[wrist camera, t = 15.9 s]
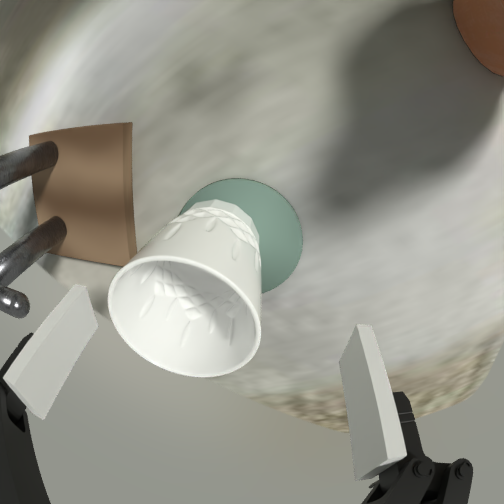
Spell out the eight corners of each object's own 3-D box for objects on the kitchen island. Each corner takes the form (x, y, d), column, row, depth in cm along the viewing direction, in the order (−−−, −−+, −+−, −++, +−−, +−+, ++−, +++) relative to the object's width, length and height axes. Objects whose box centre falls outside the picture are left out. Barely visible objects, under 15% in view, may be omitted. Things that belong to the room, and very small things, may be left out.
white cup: (210, 296, 24) (180, 389, 15) (150, 228, 22) (83, 302, 13) (287, 253, 22) (292, 348, 13) (225, 169, 19) (181, 220, 10)
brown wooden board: (39, 133, 18) (29, 135, 17) (132, 122, 18) (122, 123, 17) (52, 245, 24) (44, 252, 23) (137, 259, 24) (130, 267, 22)
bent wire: (40, 142, 17) (-61, 180, 7) (99, 135, 17) (-21, 172, 7) (52, 238, 22) (-26, 304, 12) (107, 246, 22) (26, 331, 12)
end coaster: (178, 173, 20) (175, 174, 19) (311, 187, 20) (313, 189, 19) (179, 284, 25) (177, 287, 24) (290, 298, 24) (291, 302, 24)
